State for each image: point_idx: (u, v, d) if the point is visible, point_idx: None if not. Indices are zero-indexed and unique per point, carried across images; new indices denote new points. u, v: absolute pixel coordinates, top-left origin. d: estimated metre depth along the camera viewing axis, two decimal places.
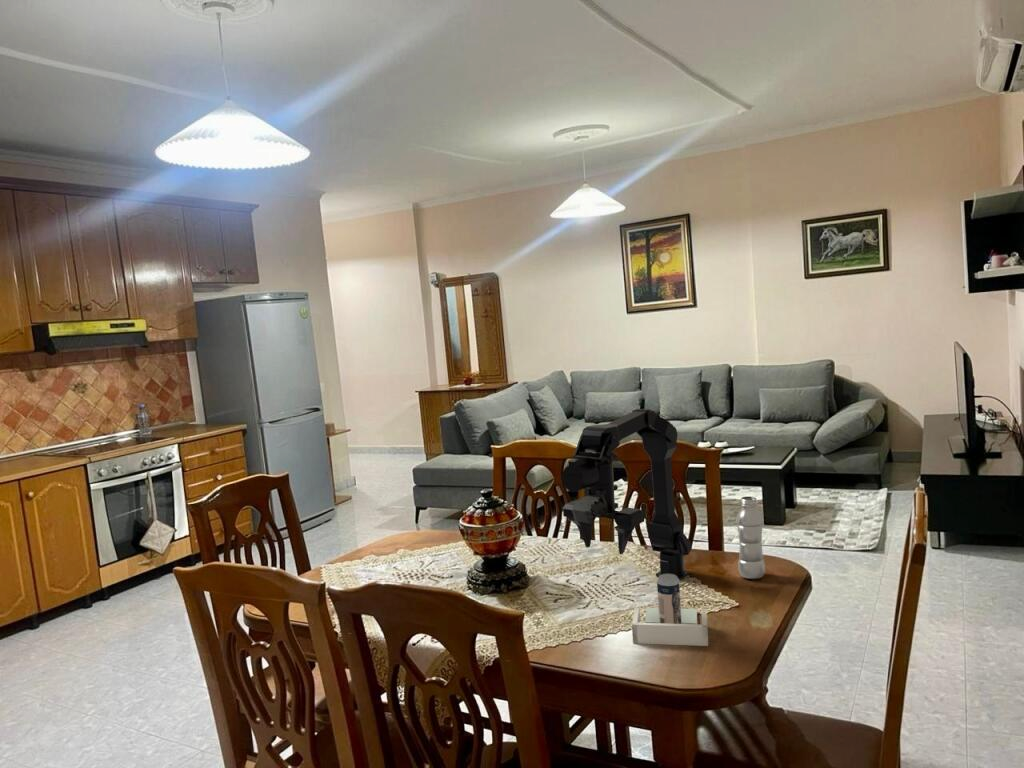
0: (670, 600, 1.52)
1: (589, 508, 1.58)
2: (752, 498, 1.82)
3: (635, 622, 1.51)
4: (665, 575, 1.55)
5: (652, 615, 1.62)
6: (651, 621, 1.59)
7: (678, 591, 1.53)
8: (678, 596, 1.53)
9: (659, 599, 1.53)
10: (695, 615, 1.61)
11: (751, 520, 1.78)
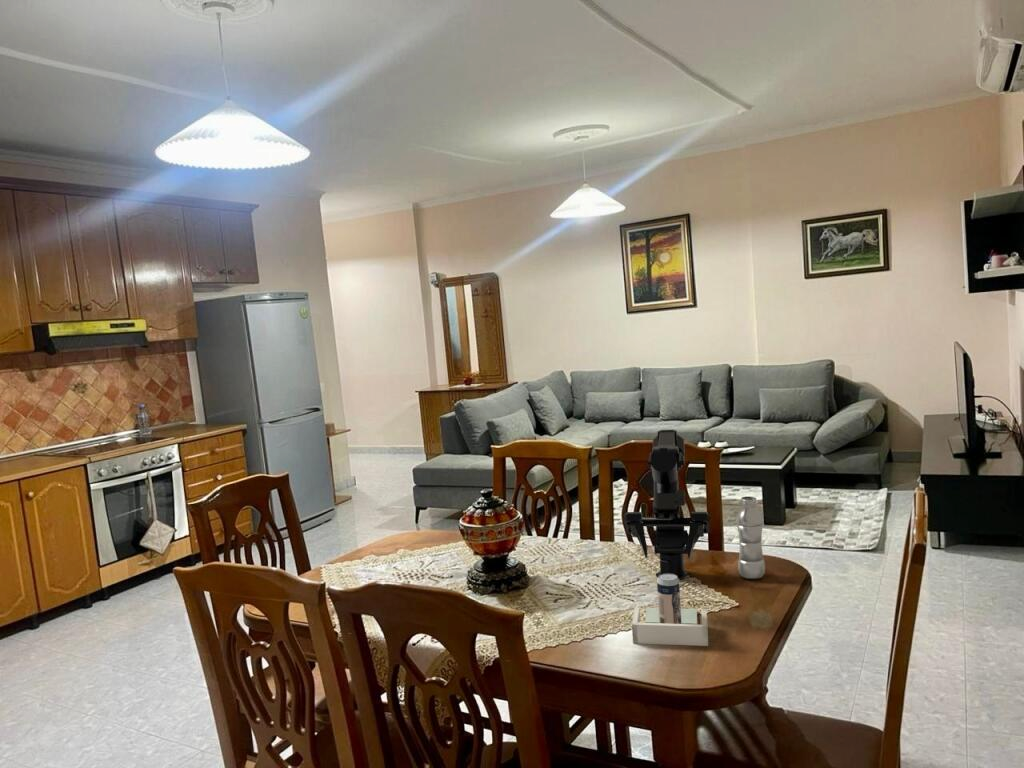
0: (670, 600, 1.52)
1: None
2: (752, 498, 1.82)
3: (635, 622, 1.51)
4: (665, 575, 1.55)
5: (652, 615, 1.62)
6: (651, 621, 1.59)
7: (678, 591, 1.53)
8: (678, 596, 1.53)
9: (659, 599, 1.53)
10: (695, 615, 1.61)
11: (750, 520, 1.78)
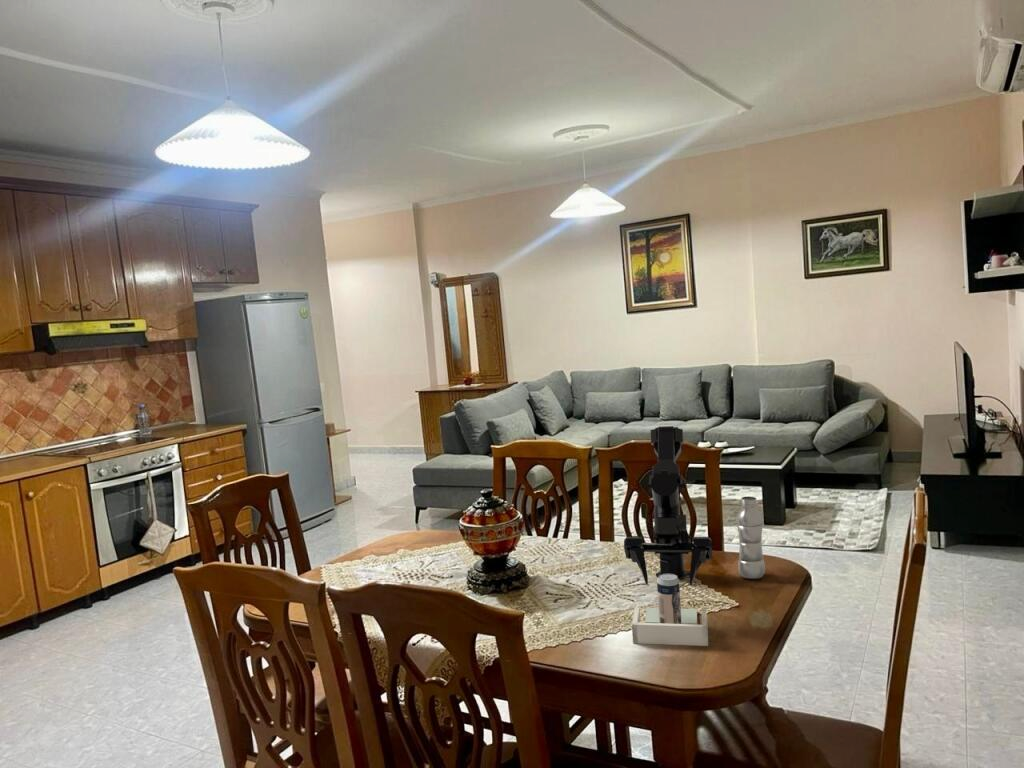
0: (670, 600, 1.52)
1: None
2: (752, 498, 1.82)
3: (635, 622, 1.51)
4: (665, 575, 1.55)
5: (652, 615, 1.62)
6: (651, 621, 1.59)
7: (678, 591, 1.53)
8: (678, 596, 1.53)
9: (659, 599, 1.53)
10: (695, 615, 1.61)
11: (750, 520, 1.78)
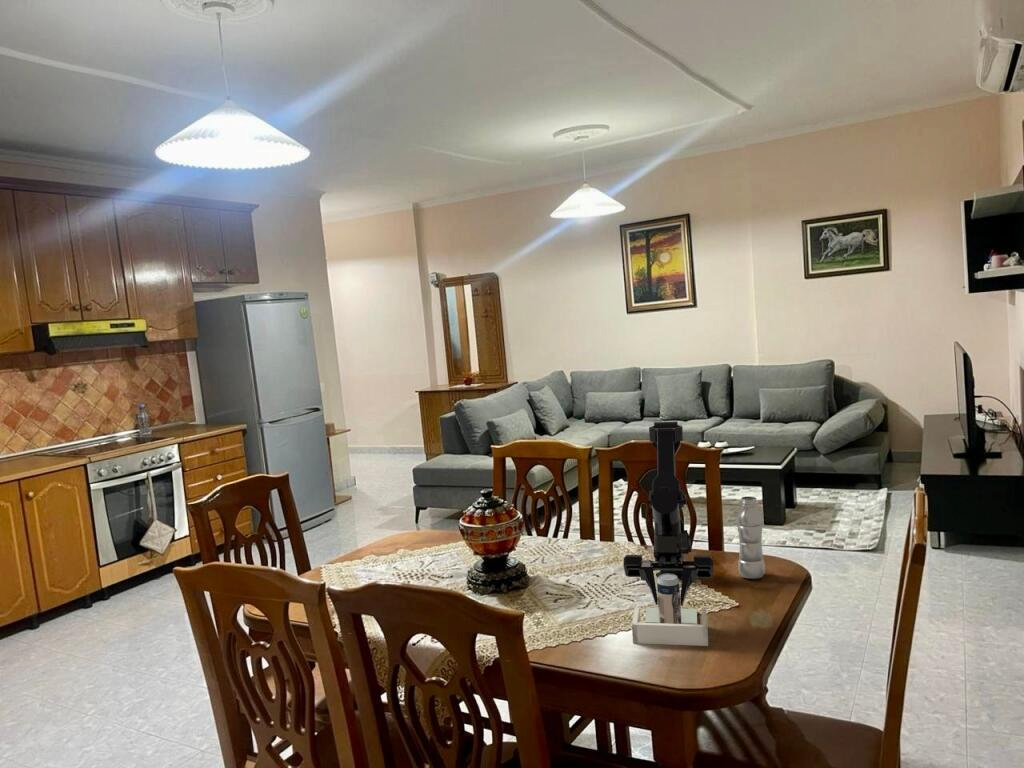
0: (670, 599, 1.52)
1: None
2: (752, 498, 1.82)
3: (635, 622, 1.51)
4: (665, 575, 1.55)
5: (652, 615, 1.62)
6: (651, 621, 1.59)
7: (678, 591, 1.53)
8: (678, 596, 1.53)
9: (659, 599, 1.53)
10: (695, 615, 1.61)
11: (751, 520, 1.78)
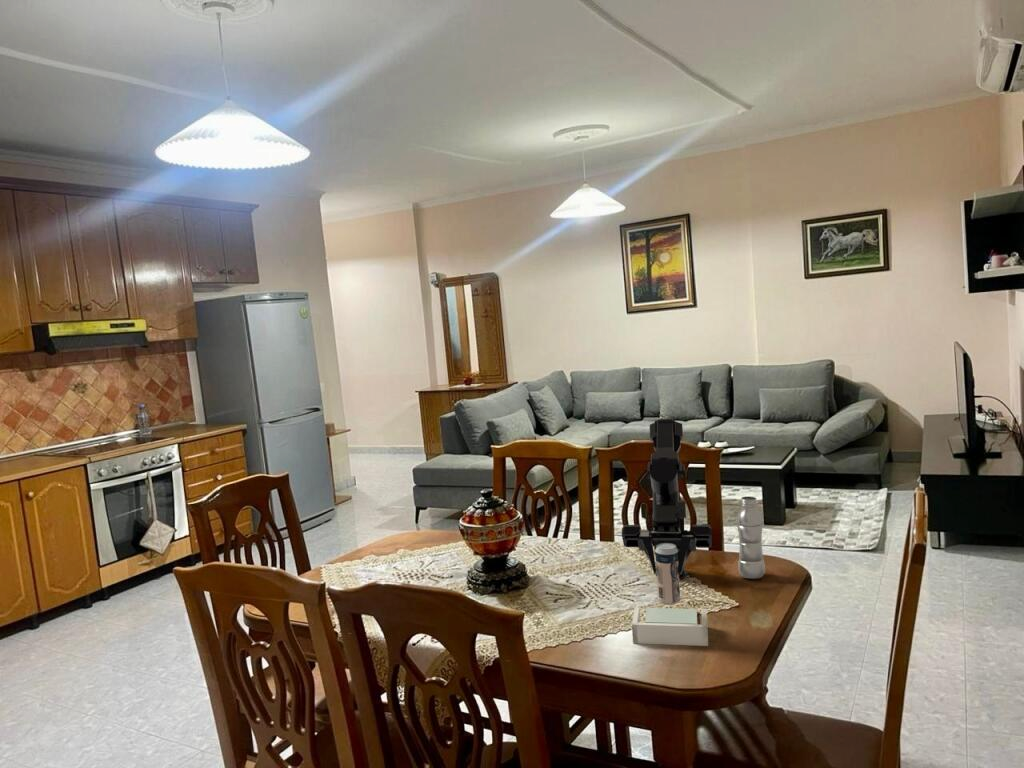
0: (668, 568, 1.51)
1: None
2: (752, 498, 1.82)
3: (635, 622, 1.51)
4: (663, 544, 1.54)
5: (652, 615, 1.62)
6: (651, 621, 1.59)
7: (676, 560, 1.52)
8: (676, 565, 1.52)
9: (657, 568, 1.53)
10: (695, 615, 1.61)
11: (751, 520, 1.78)
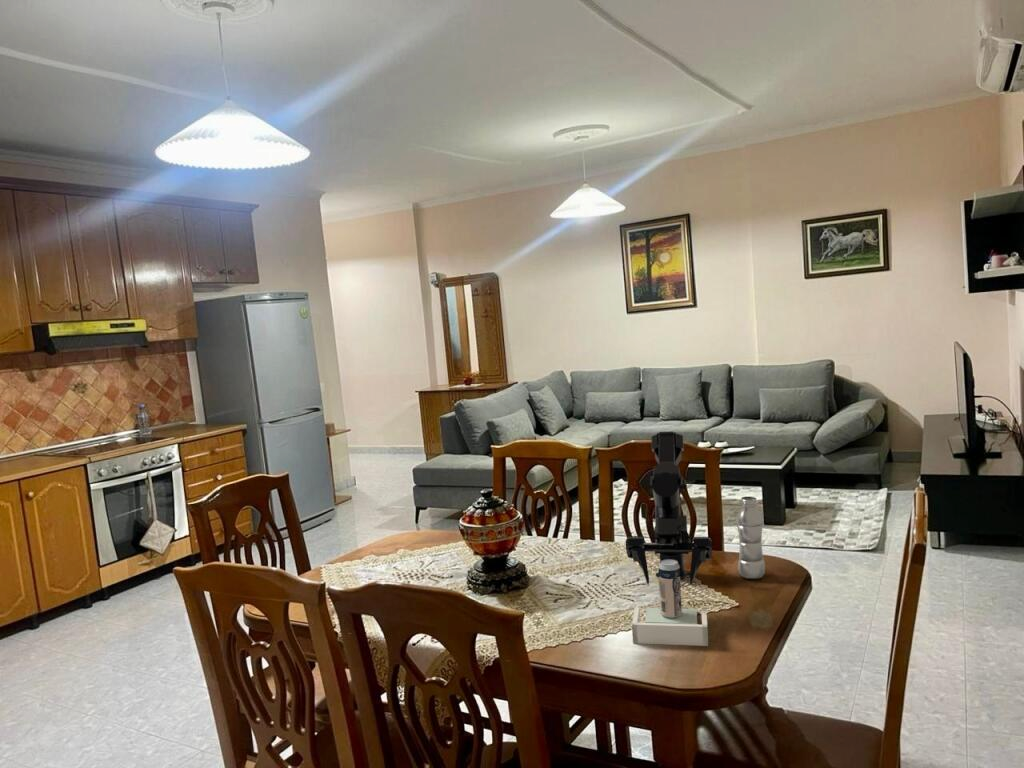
0: (670, 584, 1.59)
1: None
2: (752, 498, 1.82)
3: (635, 622, 1.51)
4: (666, 560, 1.62)
5: (652, 615, 1.62)
6: (651, 621, 1.59)
7: (678, 576, 1.60)
8: (678, 580, 1.60)
9: (660, 583, 1.60)
10: (695, 615, 1.61)
11: (750, 520, 1.78)
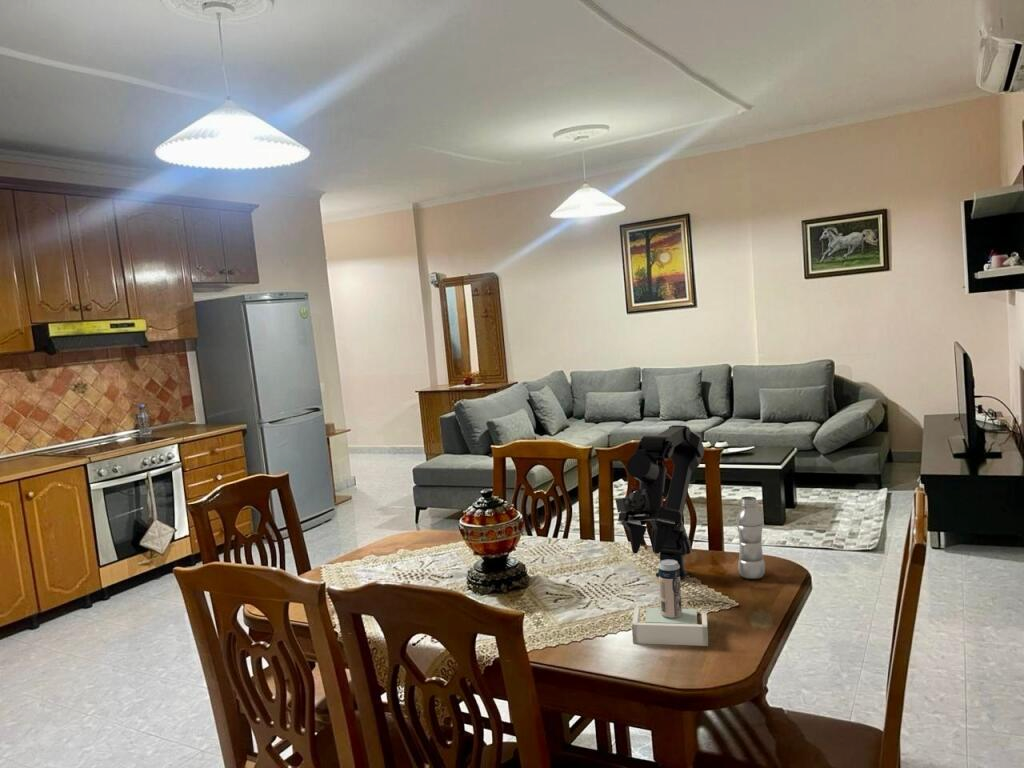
0: (670, 584, 1.59)
1: (628, 497, 1.70)
2: (752, 498, 1.82)
3: (635, 622, 1.51)
4: (666, 560, 1.62)
5: (652, 615, 1.62)
6: (651, 621, 1.59)
7: (678, 576, 1.60)
8: (678, 580, 1.60)
9: (660, 583, 1.60)
10: (695, 615, 1.61)
11: (750, 520, 1.78)
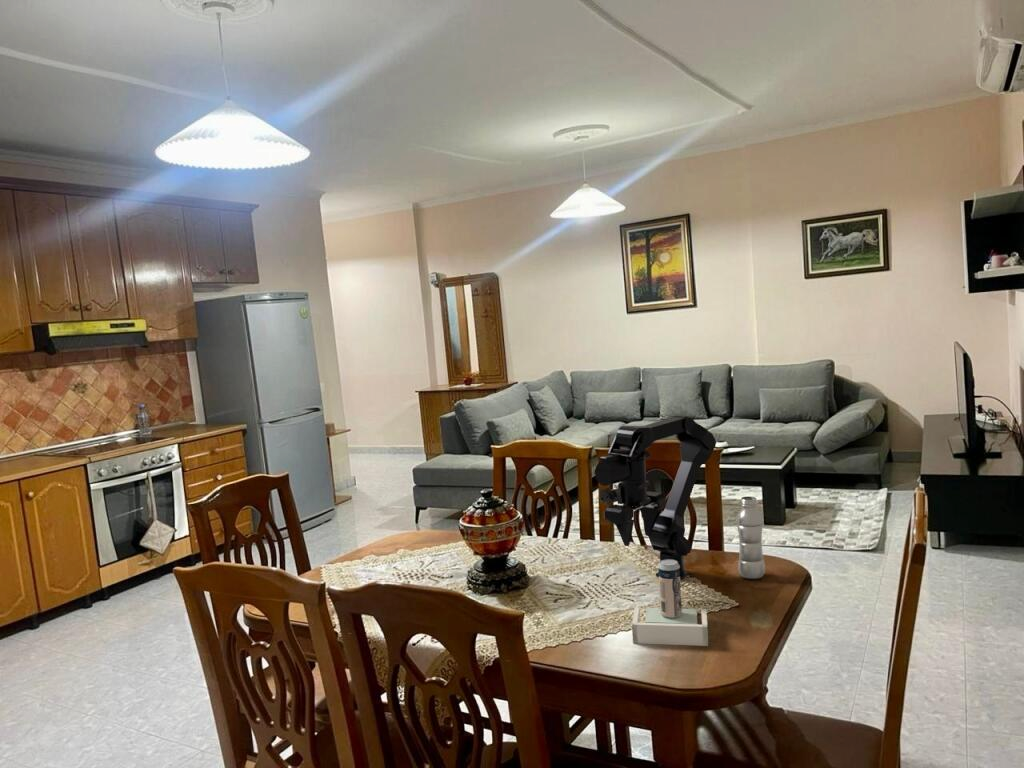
0: (670, 584, 1.59)
1: None
2: (752, 498, 1.82)
3: (635, 622, 1.51)
4: (666, 560, 1.62)
5: (652, 615, 1.62)
6: (651, 621, 1.59)
7: (678, 576, 1.60)
8: (678, 580, 1.60)
9: (660, 583, 1.60)
10: (695, 615, 1.61)
11: (751, 520, 1.78)
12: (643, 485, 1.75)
